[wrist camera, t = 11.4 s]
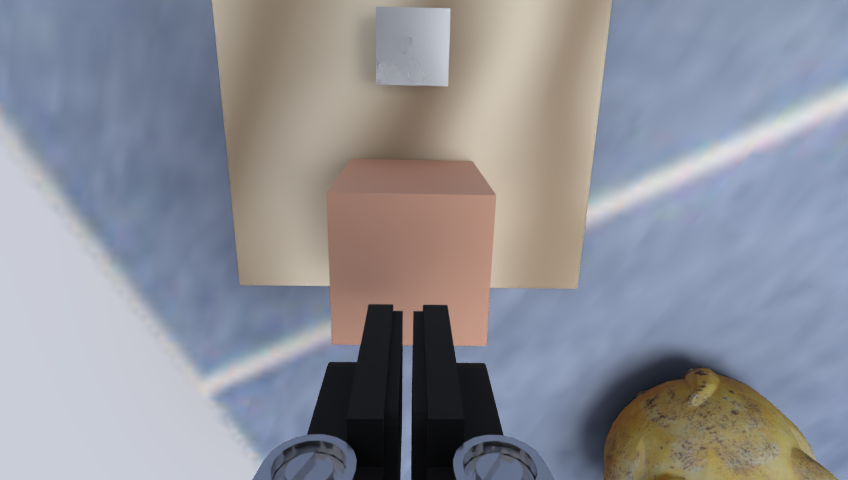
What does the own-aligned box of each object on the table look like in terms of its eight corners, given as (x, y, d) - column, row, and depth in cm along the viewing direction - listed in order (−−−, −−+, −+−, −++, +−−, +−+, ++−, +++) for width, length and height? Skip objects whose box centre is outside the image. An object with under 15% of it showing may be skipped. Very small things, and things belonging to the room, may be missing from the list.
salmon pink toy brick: (472, 161, 22) (496, 195, 16) (466, 273, 24) (486, 345, 17) (351, 158, 22) (326, 192, 16) (353, 272, 23) (332, 344, 17)
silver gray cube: (445, 17, 21) (450, 8, 18) (443, 84, 21) (448, 86, 19) (381, 15, 21) (375, 6, 18) (381, 83, 21) (376, 84, 19)
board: (609, -9, 21) (613, -12, 20) (574, 284, 25) (577, 288, 24) (214, -19, 21) (209, -22, 20) (243, 281, 25) (239, 285, 24)
